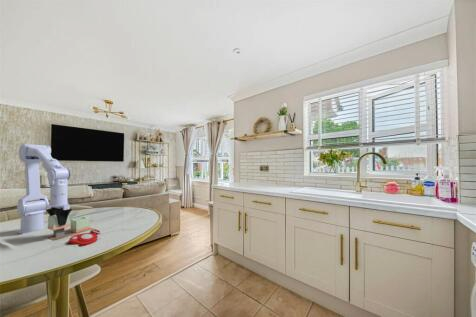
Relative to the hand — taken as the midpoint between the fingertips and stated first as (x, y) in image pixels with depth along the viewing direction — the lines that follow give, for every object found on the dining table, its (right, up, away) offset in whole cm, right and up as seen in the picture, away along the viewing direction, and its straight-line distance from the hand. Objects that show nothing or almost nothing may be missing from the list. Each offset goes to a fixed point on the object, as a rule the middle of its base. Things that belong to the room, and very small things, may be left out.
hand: (59, 224), depth 83 cm
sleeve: (0, -1, 0) cm, 1 cm away
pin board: (+2, -6, +3) cm, 7 cm away
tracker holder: (+17, -6, -4) cm, 18 cm away
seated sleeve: (+3, -5, +7) cm, 10 cm away
